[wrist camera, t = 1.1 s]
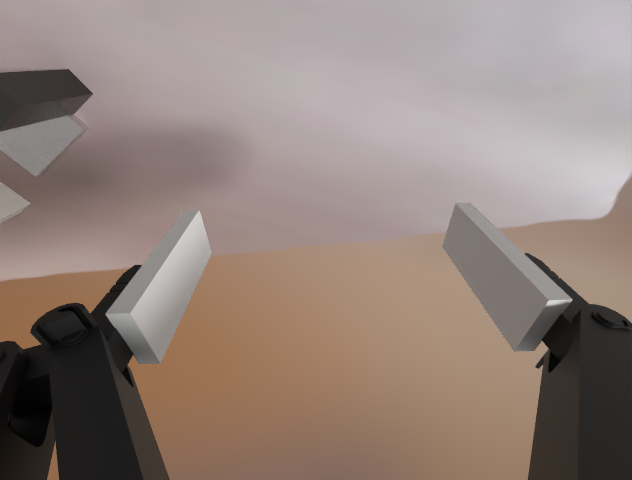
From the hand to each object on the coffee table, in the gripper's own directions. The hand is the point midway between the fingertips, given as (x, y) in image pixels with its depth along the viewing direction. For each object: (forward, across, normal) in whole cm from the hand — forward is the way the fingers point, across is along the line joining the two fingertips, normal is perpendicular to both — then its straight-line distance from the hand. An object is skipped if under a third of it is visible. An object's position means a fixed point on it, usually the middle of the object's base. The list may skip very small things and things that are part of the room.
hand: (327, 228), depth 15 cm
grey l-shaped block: (+25, -34, +1) cm, 42 cm away
